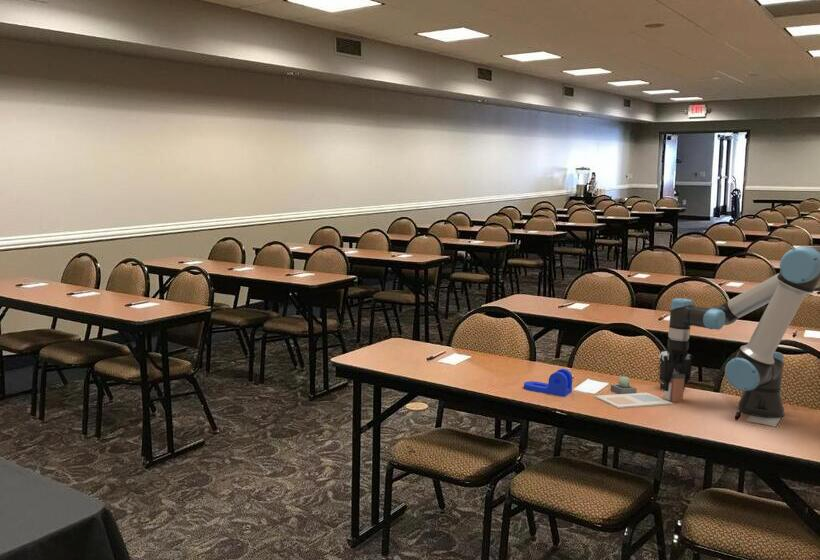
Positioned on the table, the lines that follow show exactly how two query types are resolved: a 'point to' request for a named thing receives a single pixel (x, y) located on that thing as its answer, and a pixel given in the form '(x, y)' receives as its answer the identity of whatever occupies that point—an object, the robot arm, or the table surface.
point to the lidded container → (677, 387)
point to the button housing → (623, 389)
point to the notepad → (633, 400)
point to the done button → (624, 382)
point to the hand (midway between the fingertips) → (673, 398)
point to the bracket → (553, 384)
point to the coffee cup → (660, 368)
